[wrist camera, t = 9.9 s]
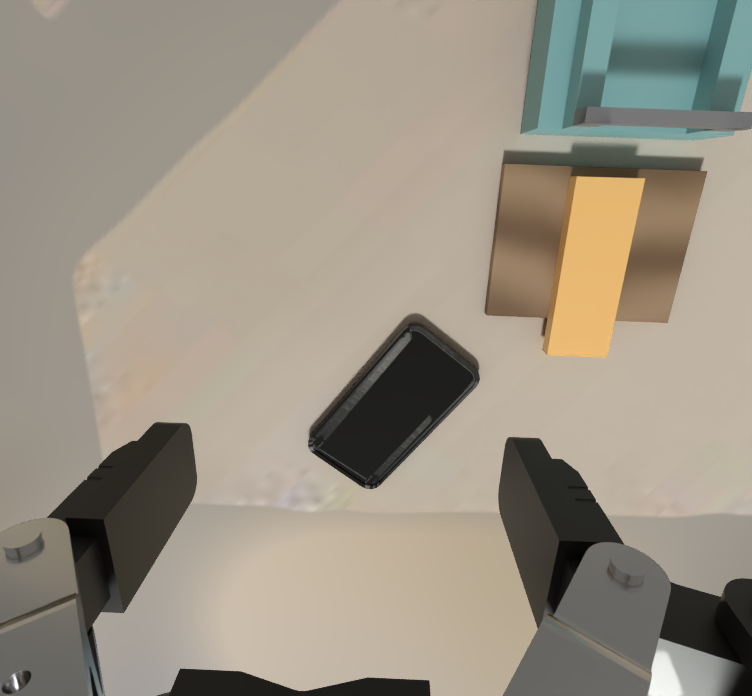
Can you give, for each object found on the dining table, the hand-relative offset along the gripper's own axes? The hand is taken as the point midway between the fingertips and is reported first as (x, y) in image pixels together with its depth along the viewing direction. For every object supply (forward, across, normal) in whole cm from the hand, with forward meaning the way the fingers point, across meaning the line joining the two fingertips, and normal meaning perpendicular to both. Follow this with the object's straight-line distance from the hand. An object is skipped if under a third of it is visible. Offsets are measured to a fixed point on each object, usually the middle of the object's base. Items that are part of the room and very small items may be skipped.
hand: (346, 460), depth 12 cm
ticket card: (+25, -16, -1) cm, 30 cm away
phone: (+26, -2, +12) cm, 29 cm away
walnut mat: (+26, -16, -2) cm, 30 cm away
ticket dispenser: (+26, -16, -15) cm, 34 cm away
